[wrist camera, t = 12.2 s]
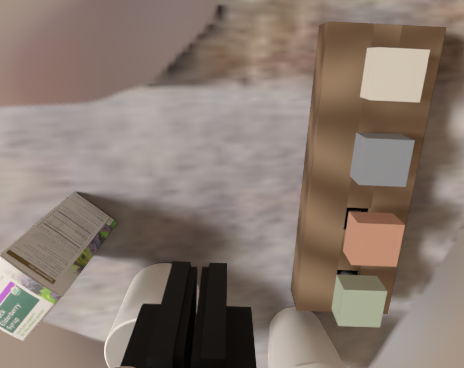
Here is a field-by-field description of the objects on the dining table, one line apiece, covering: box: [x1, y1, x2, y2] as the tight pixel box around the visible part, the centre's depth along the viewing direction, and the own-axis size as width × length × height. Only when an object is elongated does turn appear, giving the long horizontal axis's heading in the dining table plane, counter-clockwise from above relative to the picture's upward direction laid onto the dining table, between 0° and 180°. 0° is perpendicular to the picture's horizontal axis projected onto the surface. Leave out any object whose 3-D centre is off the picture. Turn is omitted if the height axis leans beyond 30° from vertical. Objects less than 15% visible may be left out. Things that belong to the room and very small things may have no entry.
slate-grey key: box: [350, 132, 415, 187], centre depth 35 cm, size 4×4×7 cm
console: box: [291, 22, 446, 314], centre depth 39 cm, size 29×10×4 cm, turn 177°
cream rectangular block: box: [360, 47, 430, 103], centre depth 33 cm, size 4×4×7 cm
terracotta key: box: [343, 208, 405, 267], centre depth 36 cm, size 4×4×7 cm
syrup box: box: [0, 192, 117, 341], centre depth 36 cm, size 6×6×14 cm
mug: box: [104, 263, 199, 368], centre depth 41 cm, size 12×8×10 cm
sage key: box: [331, 270, 387, 327], centre depth 39 cm, size 4×4×7 cm
